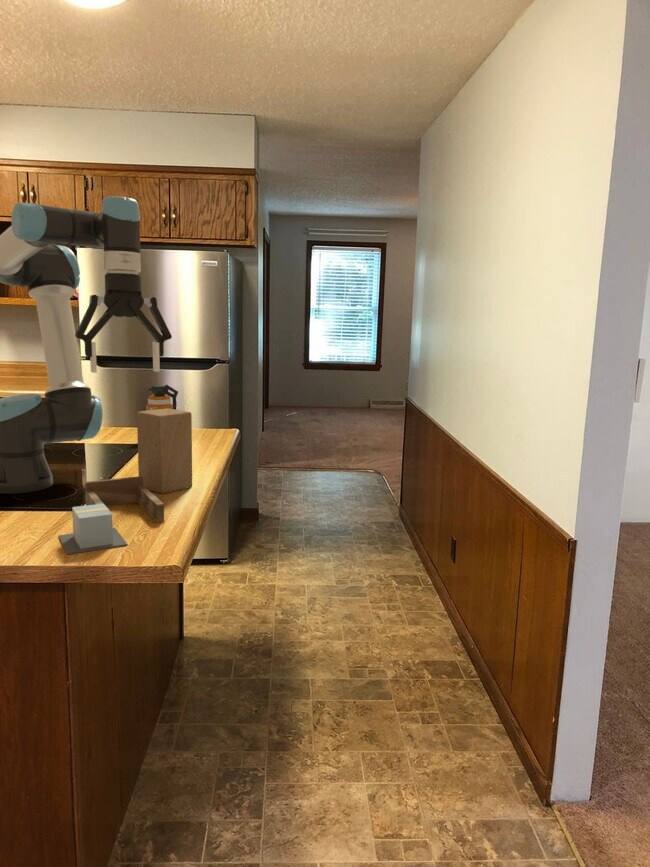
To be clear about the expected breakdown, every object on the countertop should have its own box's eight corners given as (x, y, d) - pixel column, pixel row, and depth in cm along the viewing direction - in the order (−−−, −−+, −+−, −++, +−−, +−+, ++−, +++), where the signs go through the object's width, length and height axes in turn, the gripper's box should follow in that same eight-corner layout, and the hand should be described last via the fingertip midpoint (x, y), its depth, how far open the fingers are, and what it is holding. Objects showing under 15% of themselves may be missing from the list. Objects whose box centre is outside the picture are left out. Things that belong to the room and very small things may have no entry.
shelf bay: (86, 506, 148) (84, 481, 147) (142, 500, 154) (141, 476, 153) (102, 530, 132) (101, 502, 131) (164, 521, 138) (163, 494, 137)
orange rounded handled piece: (146, 438, 233) (145, 383, 230) (177, 437, 236) (176, 383, 233) (147, 442, 225) (146, 386, 221) (179, 441, 228) (178, 386, 225)
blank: (73, 536, 127) (71, 507, 126) (104, 532, 130) (103, 503, 129) (80, 549, 120) (78, 518, 119) (113, 544, 123) (112, 514, 122)
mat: (58, 536, 127) (58, 535, 127) (115, 529, 133) (115, 527, 133) (67, 554, 118) (67, 553, 118) (127, 545, 123) (127, 544, 123)
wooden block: (169, 480, 173) (168, 407, 170) (193, 487, 167) (192, 412, 164) (138, 487, 166) (136, 411, 162) (161, 494, 159) (159, 415, 156)
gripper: (63, 268, 128) (68, 374, 131) (184, 275, 140) (185, 372, 144) (58, 270, 134) (63, 371, 138) (174, 277, 146) (175, 369, 150)
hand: (125, 371), depth 141 cm, fingers open, 13 cm apart
